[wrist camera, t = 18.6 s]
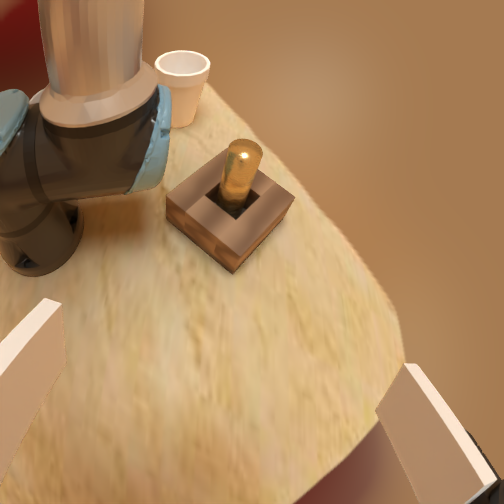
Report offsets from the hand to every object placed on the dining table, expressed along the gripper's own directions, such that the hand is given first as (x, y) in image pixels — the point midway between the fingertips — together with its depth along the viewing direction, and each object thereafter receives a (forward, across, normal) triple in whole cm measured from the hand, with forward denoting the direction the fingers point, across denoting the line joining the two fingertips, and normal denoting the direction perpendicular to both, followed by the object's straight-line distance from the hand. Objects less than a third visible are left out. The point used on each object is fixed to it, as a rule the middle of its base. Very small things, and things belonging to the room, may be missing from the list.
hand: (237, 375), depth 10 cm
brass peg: (+38, 0, -2) cm, 38 cm away
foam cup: (+53, -14, +11) cm, 56 cm away
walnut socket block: (+39, 0, -3) cm, 39 cm away
